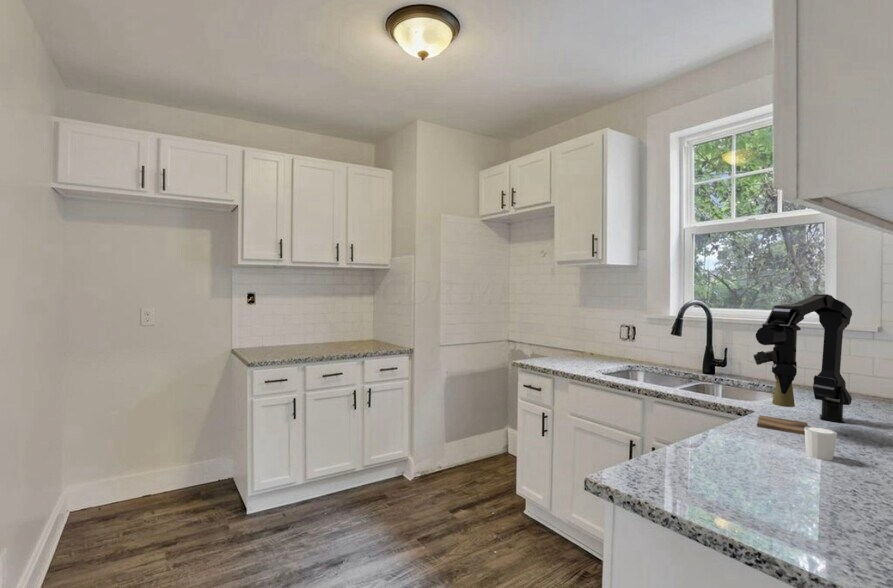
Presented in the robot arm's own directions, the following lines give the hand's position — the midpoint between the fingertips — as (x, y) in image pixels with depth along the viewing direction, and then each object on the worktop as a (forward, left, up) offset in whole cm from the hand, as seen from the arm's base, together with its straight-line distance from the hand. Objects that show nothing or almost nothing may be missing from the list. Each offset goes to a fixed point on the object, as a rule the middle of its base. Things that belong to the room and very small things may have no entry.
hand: (783, 392), depth 152 cm
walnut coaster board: (0, 0, -11) cm, 11 cm away
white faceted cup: (+28, +8, -11) cm, 31 cm away
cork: (0, 0, -4) cm, 4 cm away
